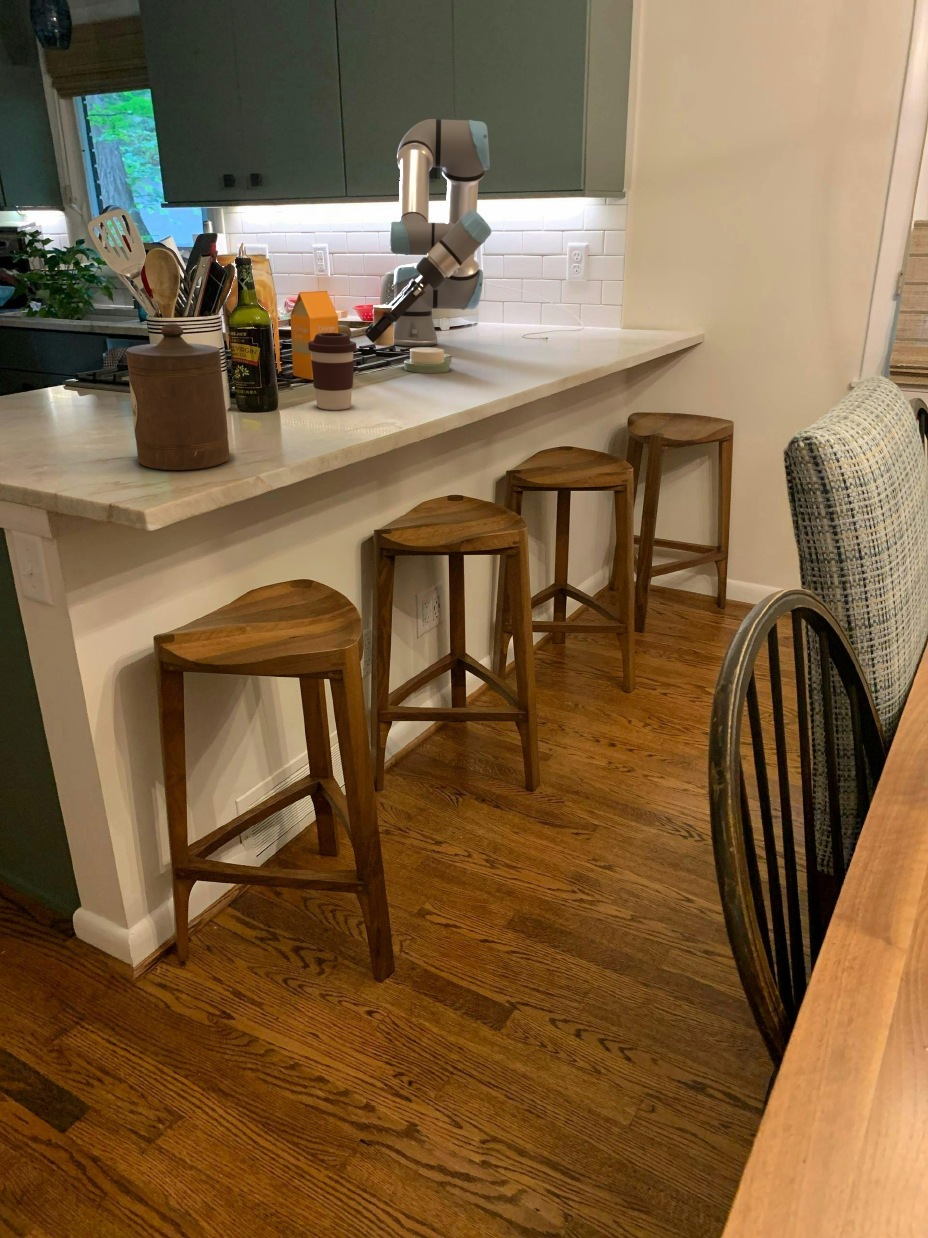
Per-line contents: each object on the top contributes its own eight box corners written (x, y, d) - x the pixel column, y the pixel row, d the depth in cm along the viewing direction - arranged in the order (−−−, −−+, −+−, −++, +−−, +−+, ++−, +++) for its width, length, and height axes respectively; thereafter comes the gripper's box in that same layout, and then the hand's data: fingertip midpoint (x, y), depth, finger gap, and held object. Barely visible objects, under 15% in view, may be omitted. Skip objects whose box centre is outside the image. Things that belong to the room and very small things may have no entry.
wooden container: (170, 445, 166) (157, 316, 157) (245, 453, 162) (236, 321, 153) (119, 465, 153) (102, 325, 144) (199, 475, 149) (187, 332, 140)
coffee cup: (319, 413, 194) (317, 338, 187) (304, 404, 201) (301, 332, 195) (364, 409, 198) (363, 336, 192) (347, 401, 206) (345, 330, 200)
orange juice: (339, 376, 234) (337, 291, 226) (312, 379, 228) (309, 293, 220) (320, 371, 239) (317, 289, 230) (292, 375, 233) (288, 290, 224)
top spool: (368, 343, 230) (368, 305, 226) (385, 342, 233) (385, 304, 229) (382, 346, 226) (382, 307, 223) (398, 344, 230) (398, 306, 226)
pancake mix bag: (212, 377, 227) (203, 253, 216) (273, 368, 241) (267, 252, 229) (230, 380, 223) (221, 255, 212) (291, 371, 237) (285, 253, 225)
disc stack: (395, 367, 247) (395, 348, 245) (428, 363, 255) (428, 345, 253) (425, 374, 239) (425, 354, 237) (458, 370, 247) (459, 350, 245)
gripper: (451, 282, 217) (381, 353, 222) (443, 276, 234) (377, 343, 238) (429, 257, 214) (358, 330, 219) (422, 252, 231) (356, 321, 235)
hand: (368, 336), depth 228 cm, fingers closed on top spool, 5 cm apart
